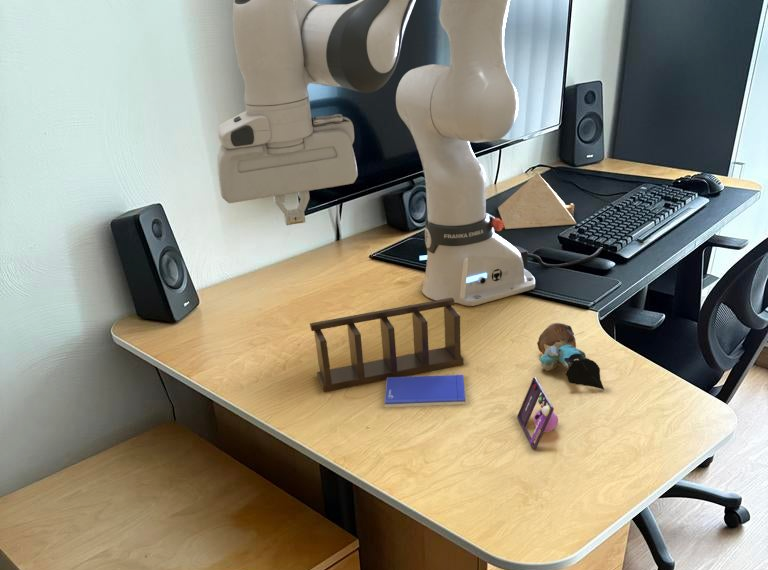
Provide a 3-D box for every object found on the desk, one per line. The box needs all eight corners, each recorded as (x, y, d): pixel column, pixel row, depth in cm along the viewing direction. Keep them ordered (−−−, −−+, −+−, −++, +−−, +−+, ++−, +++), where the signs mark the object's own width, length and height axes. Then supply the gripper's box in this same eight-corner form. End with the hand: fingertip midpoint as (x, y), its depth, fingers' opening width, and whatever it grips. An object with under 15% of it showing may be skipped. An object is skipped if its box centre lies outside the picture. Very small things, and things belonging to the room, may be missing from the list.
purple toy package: (529, 376, 109) (546, 407, 102) (561, 382, 110) (581, 413, 103) (512, 416, 113) (528, 448, 106) (544, 422, 114) (562, 455, 107)
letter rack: (453, 351, 132) (452, 297, 126) (463, 364, 128) (463, 308, 122) (317, 378, 128) (309, 323, 122) (323, 392, 124) (316, 336, 118)
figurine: (569, 348, 130) (572, 314, 126) (606, 391, 117) (610, 355, 114) (527, 354, 129) (528, 320, 125) (558, 398, 117) (561, 362, 113)
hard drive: (384, 401, 118) (465, 398, 117) (386, 376, 124) (463, 373, 123) (385, 410, 119) (465, 407, 118) (387, 384, 125) (463, 381, 124)
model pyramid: (579, 224, 179) (583, 179, 173) (505, 229, 180) (506, 184, 174) (567, 203, 192) (570, 160, 186) (497, 208, 193) (498, 166, 187)
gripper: (346, 108, 111) (356, 206, 120) (206, 128, 108) (226, 228, 116) (357, 115, 106) (366, 217, 115) (210, 137, 103) (231, 240, 111)
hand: (295, 223), depth 115 cm, fingers closed
